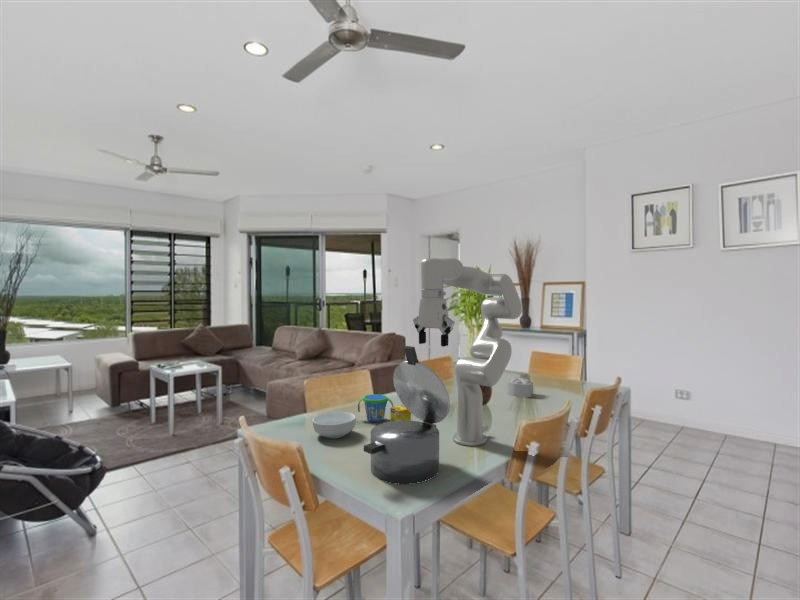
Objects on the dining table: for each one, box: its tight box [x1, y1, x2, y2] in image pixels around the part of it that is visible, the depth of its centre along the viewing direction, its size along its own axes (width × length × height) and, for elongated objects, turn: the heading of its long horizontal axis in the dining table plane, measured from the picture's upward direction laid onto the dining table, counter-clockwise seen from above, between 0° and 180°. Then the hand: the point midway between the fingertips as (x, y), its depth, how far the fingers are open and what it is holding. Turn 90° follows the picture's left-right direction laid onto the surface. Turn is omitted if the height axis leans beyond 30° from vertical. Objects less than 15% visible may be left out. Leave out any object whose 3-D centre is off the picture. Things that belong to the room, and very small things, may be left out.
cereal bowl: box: [312, 411, 357, 440], centre depth 165 cm, size 17×17×7 cm
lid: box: [392, 345, 451, 424], centre depth 140 cm, size 29×23×3 cm
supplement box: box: [389, 404, 412, 422], centre depth 165 cm, size 6×6×11 cm
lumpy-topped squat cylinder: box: [506, 377, 534, 399], centre depth 227 cm, size 10×13×9 cm
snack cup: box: [357, 393, 394, 423], centre depth 184 cm, size 16×10×10 cm
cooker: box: [363, 420, 440, 485], centre depth 134 cm, size 29×22×12 cm
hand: (433, 344), depth 143 cm, fingers open, 9 cm apart
